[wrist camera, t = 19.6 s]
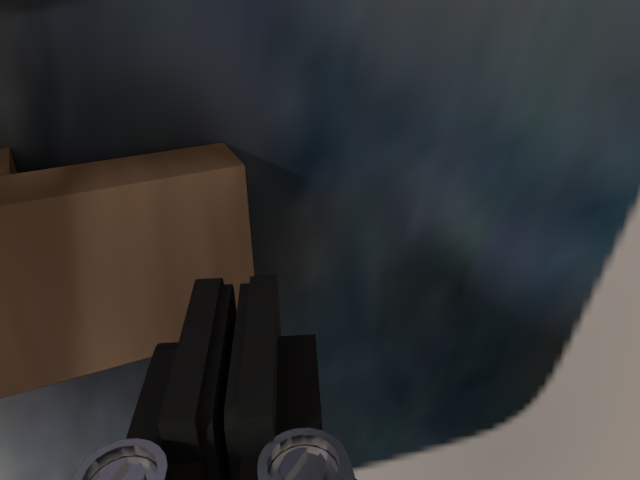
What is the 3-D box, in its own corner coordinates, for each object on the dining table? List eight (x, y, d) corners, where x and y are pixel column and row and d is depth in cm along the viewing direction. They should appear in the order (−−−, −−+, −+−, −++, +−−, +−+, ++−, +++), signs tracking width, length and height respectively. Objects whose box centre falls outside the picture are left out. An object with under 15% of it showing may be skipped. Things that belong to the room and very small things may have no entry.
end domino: (238, 292, 18) (-90, 374, 15) (223, 142, 16) (-171, 202, 13) (259, 327, 16) (-105, 427, 13) (244, 165, 14) (-202, 240, 11)
